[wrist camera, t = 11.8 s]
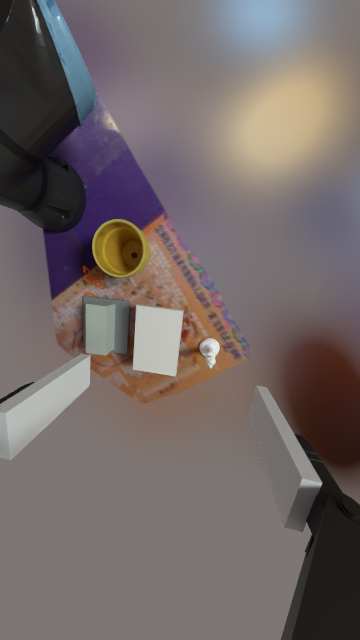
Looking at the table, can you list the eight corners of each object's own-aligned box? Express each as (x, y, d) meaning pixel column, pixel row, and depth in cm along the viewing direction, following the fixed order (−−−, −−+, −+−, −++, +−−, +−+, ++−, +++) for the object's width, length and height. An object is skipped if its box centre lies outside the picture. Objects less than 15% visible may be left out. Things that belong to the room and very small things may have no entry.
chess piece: (218, 337, 45) (223, 353, 36) (220, 356, 46) (224, 376, 37) (198, 338, 46) (197, 354, 36) (200, 357, 47) (199, 377, 37)
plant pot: (144, 286, 45) (128, 288, 36) (108, 262, 45) (82, 258, 35) (166, 247, 42) (155, 238, 33) (128, 222, 42) (106, 206, 33)
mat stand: (84, 295, 47) (71, 297, 43) (130, 301, 46) (121, 304, 41) (85, 346, 51) (72, 354, 46) (127, 353, 49) (119, 361, 45)
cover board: (138, 304, 41) (136, 305, 39) (183, 309, 40) (182, 311, 38) (135, 366, 44) (132, 369, 43) (176, 373, 43) (175, 376, 42)
